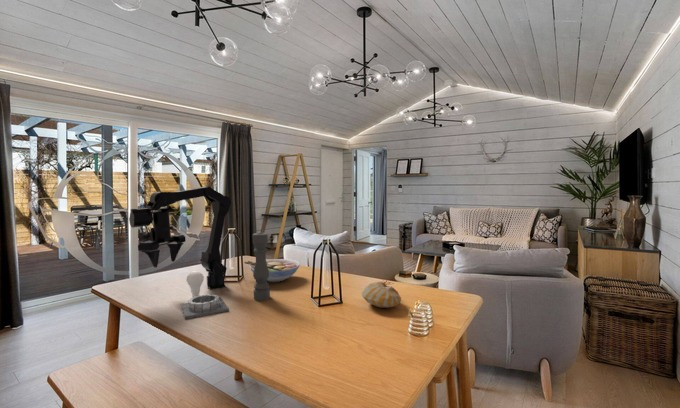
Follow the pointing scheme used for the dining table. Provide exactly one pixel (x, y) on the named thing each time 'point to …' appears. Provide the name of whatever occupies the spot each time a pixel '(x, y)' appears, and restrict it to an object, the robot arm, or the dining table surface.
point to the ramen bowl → (278, 269)
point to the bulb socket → (203, 306)
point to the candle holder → (261, 267)
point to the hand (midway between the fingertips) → (164, 264)
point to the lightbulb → (195, 282)
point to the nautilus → (381, 295)
